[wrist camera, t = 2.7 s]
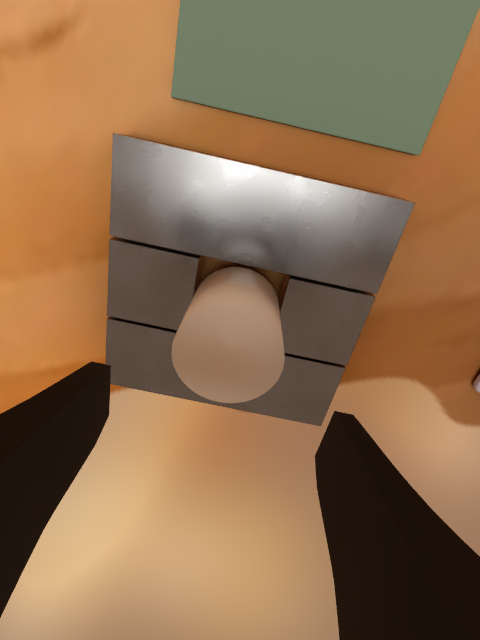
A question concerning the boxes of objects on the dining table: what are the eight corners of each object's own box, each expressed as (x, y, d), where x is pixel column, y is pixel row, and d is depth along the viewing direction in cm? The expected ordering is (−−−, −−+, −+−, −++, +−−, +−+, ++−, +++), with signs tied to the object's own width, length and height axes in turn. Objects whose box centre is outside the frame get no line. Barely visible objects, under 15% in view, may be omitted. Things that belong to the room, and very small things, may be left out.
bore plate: (399, 198, 17) (415, 203, 15) (316, 405, 23) (321, 426, 22) (128, 135, 17) (113, 133, 15) (117, 364, 23) (105, 382, 21)
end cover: (285, 264, 19) (298, 320, 13) (266, 333, 21) (269, 412, 15) (206, 247, 19) (178, 295, 13) (195, 318, 21) (165, 391, 15)
